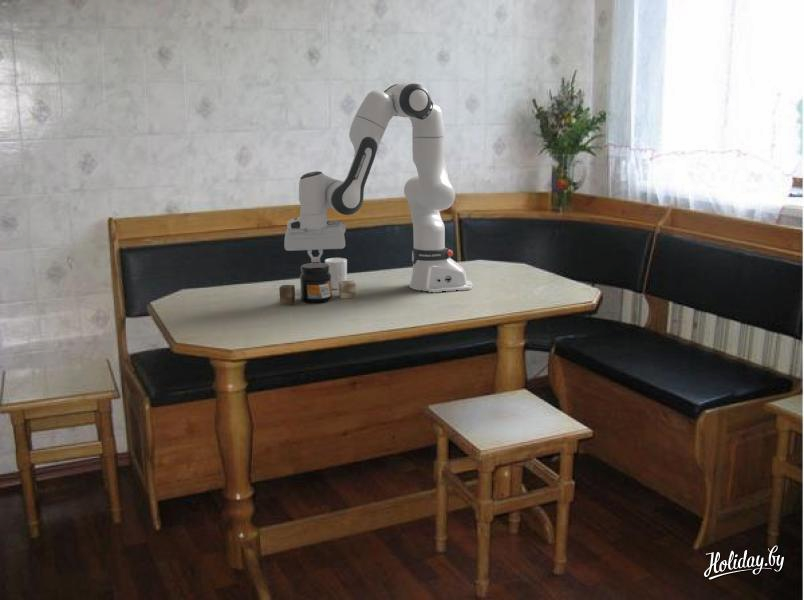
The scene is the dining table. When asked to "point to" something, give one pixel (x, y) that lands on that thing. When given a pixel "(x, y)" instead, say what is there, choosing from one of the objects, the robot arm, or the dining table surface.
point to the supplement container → (315, 283)
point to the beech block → (347, 289)
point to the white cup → (337, 270)
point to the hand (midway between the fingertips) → (315, 262)
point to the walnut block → (287, 294)
